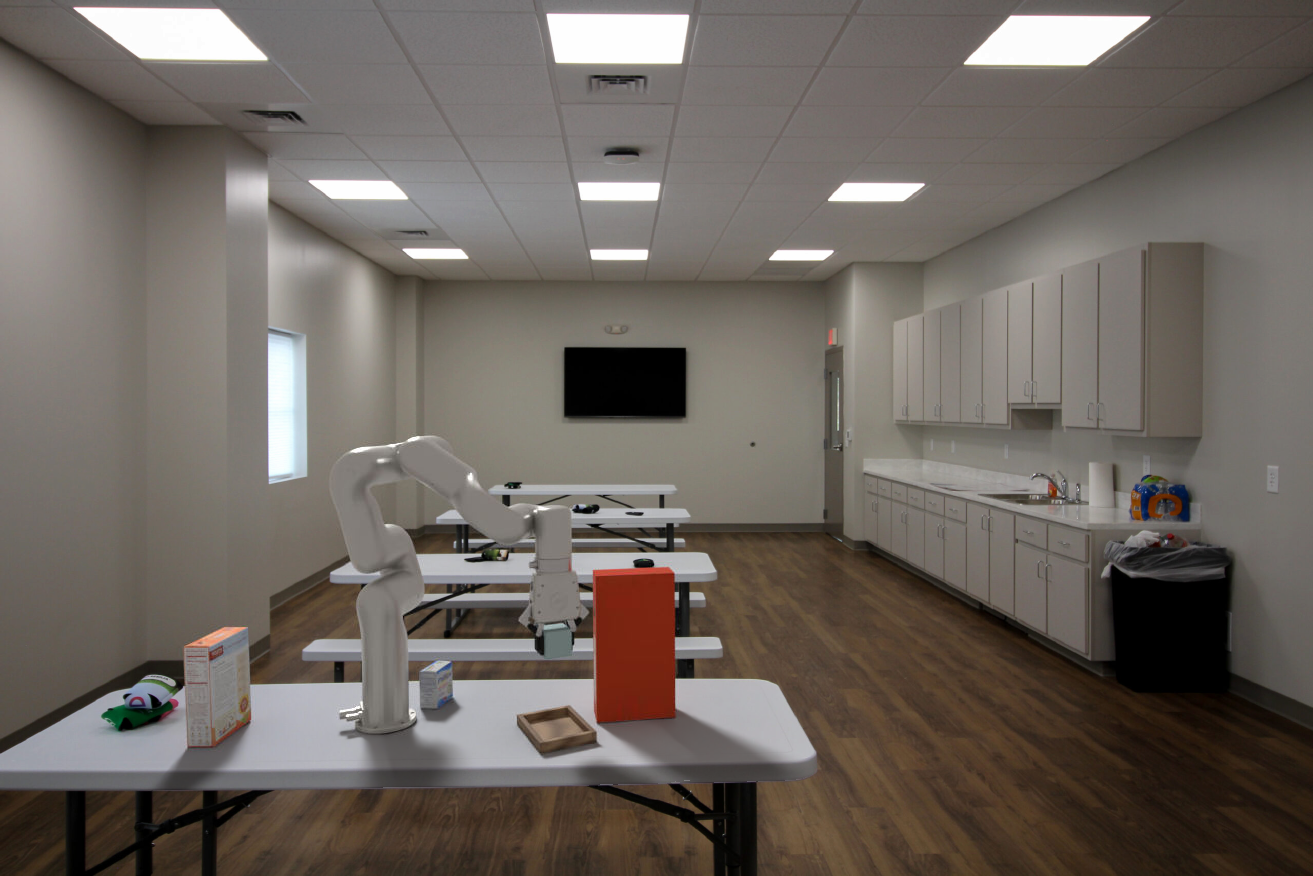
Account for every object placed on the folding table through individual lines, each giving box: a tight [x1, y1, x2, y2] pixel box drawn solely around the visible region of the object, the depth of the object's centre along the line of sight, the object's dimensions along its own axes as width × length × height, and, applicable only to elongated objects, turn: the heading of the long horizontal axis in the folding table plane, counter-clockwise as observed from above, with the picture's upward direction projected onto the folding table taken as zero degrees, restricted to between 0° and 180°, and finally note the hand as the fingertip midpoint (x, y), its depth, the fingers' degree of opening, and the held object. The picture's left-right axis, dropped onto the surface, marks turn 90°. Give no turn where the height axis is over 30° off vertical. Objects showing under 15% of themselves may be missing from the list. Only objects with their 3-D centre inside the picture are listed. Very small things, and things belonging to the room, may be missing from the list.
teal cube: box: [541, 622, 573, 661], centre depth 160 cm, size 6×6×6 cm
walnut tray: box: [516, 704, 598, 755], centre depth 161 cm, size 12×16×2 cm
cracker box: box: [182, 626, 252, 748], centre depth 161 cm, size 14×6×21 cm, turn 178°
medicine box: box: [418, 660, 454, 710], centre depth 178 cm, size 8×4×9 cm, turn 168°
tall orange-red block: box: [592, 566, 676, 724], centre depth 171 cm, size 8×17×32 cm, turn 100°
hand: (554, 650), depth 160 cm, fingers closed on teal cube, 5 cm apart
